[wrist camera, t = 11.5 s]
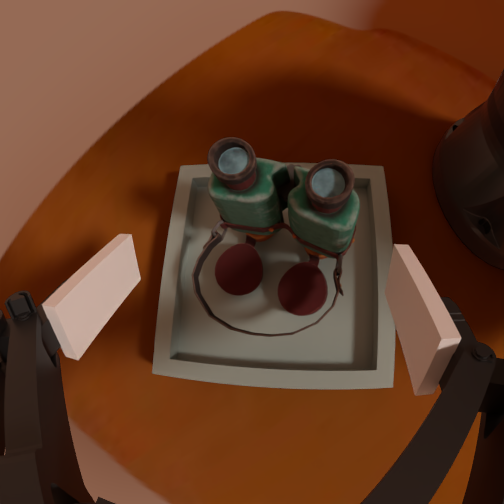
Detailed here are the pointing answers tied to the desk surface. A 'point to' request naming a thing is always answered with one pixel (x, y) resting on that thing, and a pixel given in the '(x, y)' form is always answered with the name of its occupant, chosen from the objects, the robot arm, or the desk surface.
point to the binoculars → (278, 224)
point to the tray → (276, 301)
